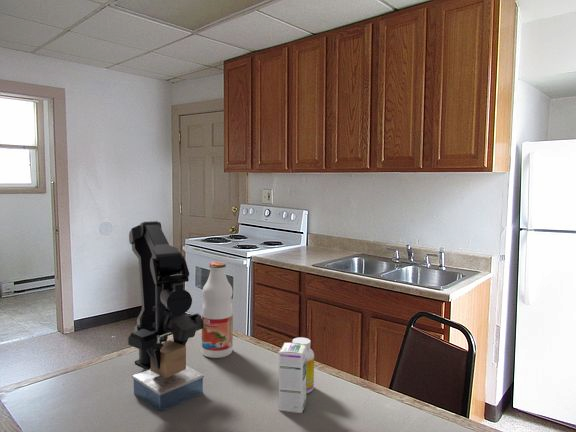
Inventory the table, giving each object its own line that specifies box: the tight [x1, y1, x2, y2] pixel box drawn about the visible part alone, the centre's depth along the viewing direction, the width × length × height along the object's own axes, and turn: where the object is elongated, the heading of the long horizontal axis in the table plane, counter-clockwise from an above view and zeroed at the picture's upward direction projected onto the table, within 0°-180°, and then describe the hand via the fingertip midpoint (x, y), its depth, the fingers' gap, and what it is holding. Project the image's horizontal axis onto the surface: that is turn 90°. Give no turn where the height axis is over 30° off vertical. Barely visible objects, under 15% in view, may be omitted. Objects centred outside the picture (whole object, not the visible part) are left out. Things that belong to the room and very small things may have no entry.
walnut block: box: [150, 339, 187, 378], centre depth 105 cm, size 6×6×6 cm
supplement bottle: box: [291, 336, 315, 395], centre depth 109 cm, size 7×7×13 cm
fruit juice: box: [201, 261, 234, 359], centre depth 130 cm, size 9×9×28 cm
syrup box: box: [278, 342, 307, 414], centre depth 101 cm, size 6×6×14 cm
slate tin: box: [131, 365, 205, 412], centre depth 106 cm, size 12×12×5 cm
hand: (168, 364), depth 105 cm, fingers closed on walnut block, 6 cm apart
